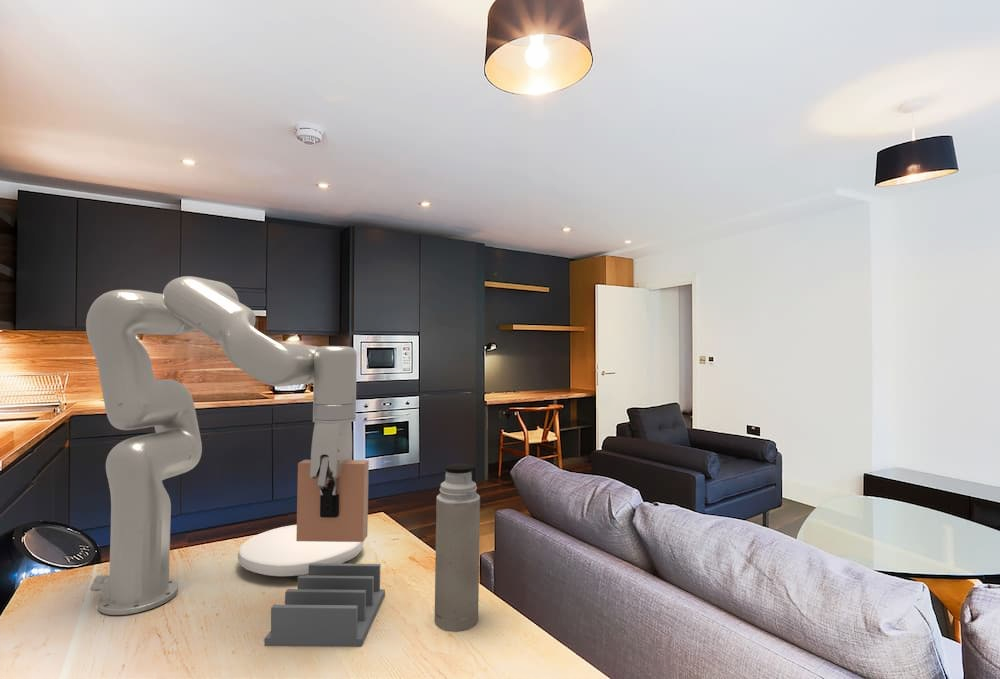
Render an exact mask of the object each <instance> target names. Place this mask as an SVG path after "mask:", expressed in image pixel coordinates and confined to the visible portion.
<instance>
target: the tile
mask: <svg viewBox="0 0 1000 679" xmlns="http://www.w3.org/2000/svg"><path fill="white" fill-rule="evenodd" d="M310 463H311V459H303V460H301V461H300V462H298V463H297V493H296V494H297V496H296V500H297V502H296V525H297V537H296V541H315V542H363V543H364V541H365V540H366V538H367V537H368V531H369V529H368V525H369V524H368V522H369V520H368V519H369V516H368V514H369V471H370V470H369V464H370V462H369V460H368V459H367V460H366V459H364V460H363V459H352V460H348V461H347V462H345V463H344V465H343V472H342V475H341V476H339V477H338V487H337V494H339V515H338V517H336V518H327V517H320V488H319V487H318V479H319V477H317V478H315V479H312V478H311V477H310ZM320 468H321V467H320ZM319 472H320V471H319ZM332 475H333V474H328V477H332ZM329 483H332V486H333V481H329Z"/></svg>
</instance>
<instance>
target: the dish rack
mask: <svg viewBox="0 0 1000 679" xmlns="http://www.w3.org/2000/svg"><path fill="white" fill-rule="evenodd" d="M381 567H382V566H381V563H341V564H338V563H310V564H309V570H308V574H305V575H298V576H297V586H296V587H297V588H287V589H286V590H285V592H284V594H285V595H284V604H273V605H272V606H271V607H270V631H269V632H268V633H267V634H266V636H265V637H264V643H263V644H264V645H263V646H270V647H271V646H275V647H276V646H278V647H279V646H280V647H282V646H283V647H284V646H286V647H287V646H288V647H292V646H294V647H296V646H297V647H363V644H364V642H365V640H366V637H367V635H368V633H369V631H370V629H371V626H372V625H373V621H374V620H375V618H376V616H377V614H378V611H379V610H380V607H381V605H382V603H383V600H384V598H385V595H386V589H384V588H383V589H381Z"/></svg>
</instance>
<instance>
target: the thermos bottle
mask: <svg viewBox="0 0 1000 679" xmlns="http://www.w3.org/2000/svg"><path fill="white" fill-rule="evenodd" d="M445 471H446V472H445V476H444V477H445V478H444V479H445V480H444V481H442V482H441V483H440V487H439V494H438V495H436V500H435V501H436V508H435V509H436V510H435V513H436V521H435V562H434V563H435V567H434V568H435V570H434V574H435V576H434V624H435V625H436V626H437V627H438V628H439V629H442V630H445V631H450V632H462V631H466V630H470V629H471V628H473V627H474V626H476V625H477V623H478V622H479V602H480V601H479V595H480V594H479V593H480V592H479V591H480V589H479V588H480V586H479V584H480V581H479V580H480V522H481V521H480V518H481V515H480V514H481V513H480V512H481V511H480V510H481V508H480V507H481V496H480V495H479V494H478V493H477V489H478V487H477V483H476V482H475V481H473V479H472V476H473V475H472V474H473V473H472V471H473V465H472V464H471V465H470V464H468V463H452V464H451V463H450V464H447V465H446V466H445Z"/></svg>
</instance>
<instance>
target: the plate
mask: <svg viewBox="0 0 1000 679" xmlns="http://www.w3.org/2000/svg"><path fill="white" fill-rule="evenodd" d="M296 537H297V524H291V525H285V526H281V527H277V528H276V527H275V528H273V529H270V530H266V531H263V532H261V533H258V534H256V535H254V536H252V537H250V538H249V539H247V540H245V541H244V542H243V543H242V544H241V545H240V546H239V549H238V551H237V552H238V553H237V560H238V562H239V564H240V566H241V567H243V569H245V570H247V571H249V572H252V573H255V574H256V573H257V574H259V575H264V576H271V577H296V576H297V577H299V576H300V575H308V570H309V564H310V563H338V564H345V562H348V561H350V560H352V559H354V558H355V557H356V556H358V555H359V554H360V552H361V551H362V549H363V546H364V541H363V542H315V541H296Z"/></svg>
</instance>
